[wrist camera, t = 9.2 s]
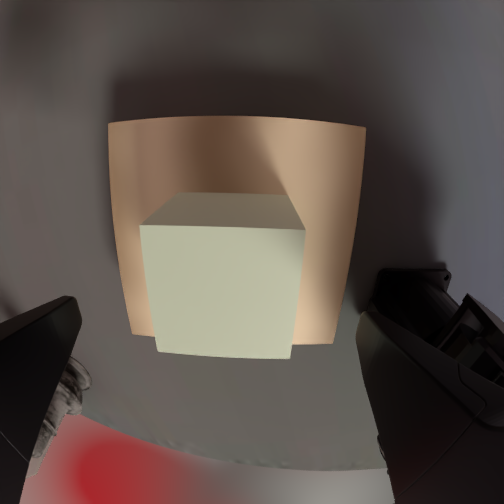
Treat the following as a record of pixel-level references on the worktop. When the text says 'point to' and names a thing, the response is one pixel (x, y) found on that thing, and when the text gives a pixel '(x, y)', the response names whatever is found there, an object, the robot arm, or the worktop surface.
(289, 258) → the sage cube
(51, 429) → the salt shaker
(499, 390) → the robot arm
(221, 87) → the worktop surface
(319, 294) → the oak riser block
